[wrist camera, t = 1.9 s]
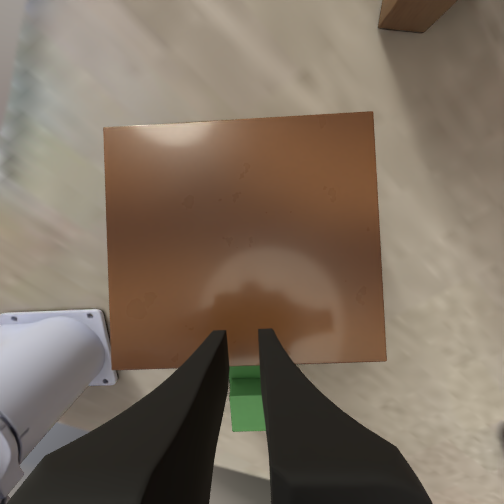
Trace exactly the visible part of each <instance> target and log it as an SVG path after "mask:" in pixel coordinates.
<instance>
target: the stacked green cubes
mask: <svg viewBox="0 0 504 504" xmlns="http://www.w3.org/2000/svg"><path fill="white" fill-rule="evenodd" d="M229 381H230V396H229V397H230V409H231V420H232V431H233V432H240V431H266V426H265V419H264V411H263V403H262V395H261V382H260V366H230V370H229Z"/></svg>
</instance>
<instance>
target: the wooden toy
mask: <svg viewBox="0 0 504 504" xmlns="http://www.w3.org/2000/svg"><path fill="white" fill-rule="evenodd" d="M457 1H458V0H383V1H382V7H381V13H380V18H379V24H378V28H385V29H394V30H404V31H414V32H425V31H426V30H427V29H428V28H429V27H430V26H431V25H432V24H433V23H434V22H435V21H437V20H438V19H439V18H440V17H441V16H442V15H443V14H444V13H445V12H446V11H447V10H448V9H449V8H450V7H451V6H452V5H453V4H454V3H456V2H457Z"/></svg>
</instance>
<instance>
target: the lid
mask: <svg viewBox="0 0 504 504" xmlns="http://www.w3.org/2000/svg"><path fill="white" fill-rule="evenodd" d="M103 133H104V162H105V192H106V222H107V251H108V281H109V310H110V340H111V370H139V369H169V368H179V367H180V366H181V365H182V364H183V363H184V362H185V361H186V360H187V359H188V358H189V357H190V356H191V355H192V354H193V353H194V352H195V351H196V349H197V348H198V347H199V346H200V345H201V344H202V343H203V341H204V340H205V339H206V338H207V337H208V335H209V334H210V333H211V332H212V331H213V330H226V332H227V344H228V355H229V367H230V366H260V362H259V342H258V329H267V328H272V329H273V330H274V331H275V334H276V336H277V338H278V340H279V341H280V343H281V345H282V346H283V348H284V349H285V351H286V352H287V354H288V355H289V357H290V358H291V359H292V361H293V362H294V363H295V364H320V363H350V362H380V361H387V356H386V337H385V319H384V301H383V283H382V264H381V246H380V228H379V210H378V192H377V173H376V155H375V137H374V119H373V112H372V111H371V112H354V113H337V114H320V115H304V116H287V117H270V118H253V119H237V120H220V121H203V122H186V123H170V124H153V125H136V126H119V127H104V128H103Z"/></svg>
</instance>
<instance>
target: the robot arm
mask: <svg viewBox="0 0 504 504" xmlns="http://www.w3.org/2000/svg"><path fill="white" fill-rule="evenodd" d="M90 314H92V315H93V316H91V315H90ZM0 325H1V326H0V504H209V499H210V490H211V482H212V473H213V465H214V458H215V452H216V446H217V441H218V436H219V431H220V426H221V422H222V417H223V412H224V407H225V402H226V397H227V392H228V382H229V370H230V367H229V355H228V344H227V332H226V330H213V331H212V332H211V333H210V334H209V335H208V337H207V338H206V339H205V340H204V341H203V343H202V344H201V345H200V346H199V347H198V348H197V349H196V351H195V352H194V353H193V354H192V355H191V356H190V357H189V358H188V359H187V360H186V361H185V362H184V363H183V364H182V365H181V366H180V367H179V368H178V369H177V370H176V371H175V372H174V373H173V374H172V375H171V376H170V377H169V378H168V379H166V380H165V381H164V382H163V383H162V384H160V385H159V386H158V387H157V388H156V389H154V390H153V391H152V392H151V393H149V394H148V395H146V396H145V397H144V398H142V399H141V400H139V401H138V402H137V403H135V404H134V405H132V406H131V407H130V408H128V409H127V410H125V411H124V412H122V413H121V414H119V415H118V416H116V417H114V418H113V419H111V420H110V421H108V422H106V423H105V424H103V425H101V426H100V427H98V428H96V429H95V430H93V431H91V432H89V433H88V434H86V435H84V436H82V437H80V438H78V439H76V440H75V441H73V442H71V443H69V444H67V445H65V446H63V447H61V448H59V449H57V450H56V451H54V452H52V453H50V454H48V455H46V456H45V457H44V458H43V459H42V460H41V461H40V463H39V464H38V465H37V466H36V467H35V469H34V470H33V471H32V473H31V474H30V475H29V476H28V477H27V479H26V480H25V481H24V482H23V484H22V485H21V486H20V488H19V489H18V490H17V491H16V492H15V494H14V495H13V496H12V497H11V499H10V497H9V496H8V494H9V493H10V491H11V490H12V489H13V488H14V487H15V485H16V484H17V483H18V482H19V480H20V479H21V478H22V477H23V475H24V472H23V471H22V470H21V468H20V466H19V465H20V464H21V462H22V461H23V460H24V459H25V458H26V457H27V456H28V454H29V453H30V452H31V451H32V450H33V449H34V447H35V446H36V445H37V444H38V443H39V442H40V441H41V439H42V438H43V437H44V436H45V435H46V434H47V432H48V431H49V430H50V429H51V428H52V427H53V426H54V424H55V423H56V422H57V421H58V420H59V419H60V417H61V416H62V415H63V414H64V413H65V412H66V411H67V409H68V408H69V407H70V406H71V405H72V404H73V402H74V401H75V400H76V399H77V398H78V397H79V396H80V394H81V393H82V392H83V391H84V390H85V389H86V387H87V386H100V385H114V384H115V383H116V382H117V380H118V378H117V373H116V370H111V346H110V342H109V337H108V333H107V328H106V323H105V319H104V314H103V312H102V311H101V310H99V309H84V310H59V311H34V312H9V313H3V314H1V315H0ZM258 342H259V362H260V382H261V395H262V403H263V411H264V419H265V426H266V434H267V442H268V452H269V466H270V485H271V504H432V501H431V500H430V498H429V496H428V494H427V493H426V491H425V489H424V487H423V486H422V484H421V482H420V480H419V479H418V477H417V476H416V474H415V473H414V471H413V470H412V468H411V467H410V465H409V464H408V463H407V461H406V460H405V458H404V457H403V455H402V454H401V453H400V451H399V450H398V448H397V447H396V446H394V445H393V444H391V443H389V442H388V441H386V440H385V439H383V438H381V437H380V436H378V435H377V434H375V433H374V432H372V431H370V430H369V429H367V428H366V427H364V426H363V425H361V424H360V423H358V422H357V421H356V420H354V419H353V418H352V417H350V416H349V415H347V414H346V413H345V412H343V411H342V410H341V409H340V408H339V407H337V406H336V405H335V404H334V403H333V402H331V401H330V400H329V399H328V398H327V397H325V396H324V395H323V394H322V393H321V392H320V391H319V390H318V389H317V388H316V387H315V386H314V385H313V384H312V383H311V382H310V381H309V380H308V379H307V378H306V377H305V375H304V374H303V373H302V372H301V371H300V370H299V368H298V367H297V366H296V365H295V363H294V362H293V361H292V359H291V358H290V357H289V355H288V354H287V352H286V351H285V349H284V348H283V346H282V345H281V343H280V341H279V340H278V338H277V336H276V334H275V331H274V330H273V329H272V328H267V329H258ZM106 379H107V380H106Z"/></svg>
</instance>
